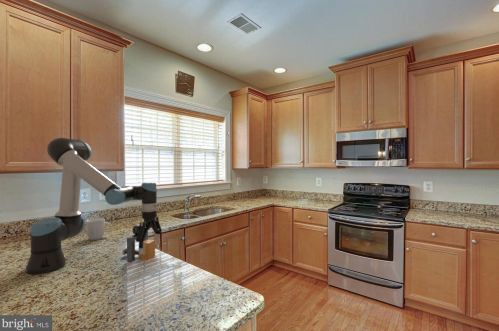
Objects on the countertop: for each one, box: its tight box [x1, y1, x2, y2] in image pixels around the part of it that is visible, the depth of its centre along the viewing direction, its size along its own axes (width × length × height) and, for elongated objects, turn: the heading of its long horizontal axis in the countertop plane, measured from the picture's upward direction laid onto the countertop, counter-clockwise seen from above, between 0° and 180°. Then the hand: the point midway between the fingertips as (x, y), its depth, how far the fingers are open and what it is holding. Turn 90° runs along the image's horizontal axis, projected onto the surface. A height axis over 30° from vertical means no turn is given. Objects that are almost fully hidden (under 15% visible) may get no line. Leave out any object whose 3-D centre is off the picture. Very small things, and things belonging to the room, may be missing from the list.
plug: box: [122, 239, 156, 261], centre depth 135 cm, size 17×6×9 cm, turn 79°
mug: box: [85, 217, 112, 241], centre depth 169 cm, size 15×11×13 cm
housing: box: [126, 224, 149, 263], centre depth 135 cm, size 14×3×18 cm, turn 169°
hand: (149, 249), depth 134 cm, fingers open, 13 cm apart
